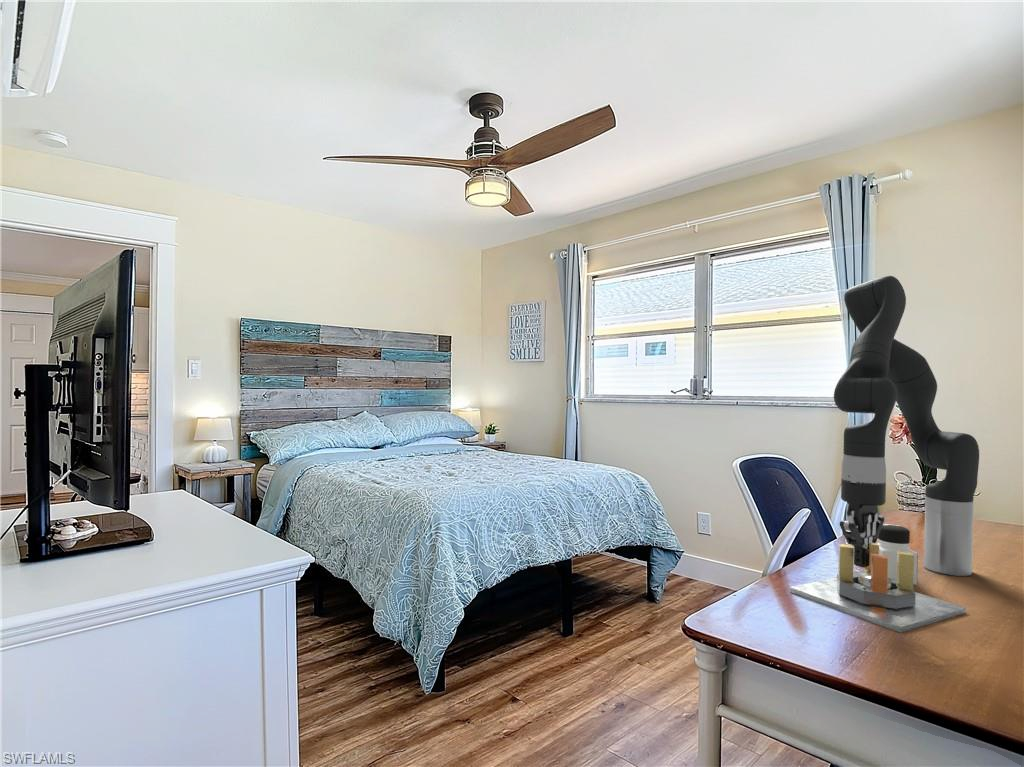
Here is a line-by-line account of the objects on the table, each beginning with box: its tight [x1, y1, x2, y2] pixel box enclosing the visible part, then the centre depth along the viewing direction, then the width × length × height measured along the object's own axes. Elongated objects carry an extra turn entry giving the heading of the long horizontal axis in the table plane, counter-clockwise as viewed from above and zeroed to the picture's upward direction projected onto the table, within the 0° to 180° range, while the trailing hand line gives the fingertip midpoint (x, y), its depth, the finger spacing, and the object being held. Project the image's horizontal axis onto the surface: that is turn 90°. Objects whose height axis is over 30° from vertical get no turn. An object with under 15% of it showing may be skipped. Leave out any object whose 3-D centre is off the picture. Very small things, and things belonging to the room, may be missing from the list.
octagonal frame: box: [836, 542, 916, 609], centre depth 116 cm, size 13×13×9 cm
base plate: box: [789, 572, 967, 634], centre depth 116 cm, size 22×22×5 cm
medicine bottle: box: [877, 523, 919, 586], centre depth 131 cm, size 7×7×12 cm
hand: (861, 566), depth 114 cm, fingers closed
